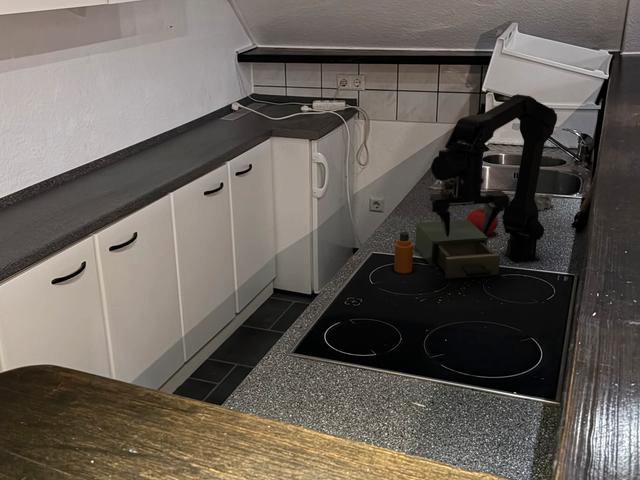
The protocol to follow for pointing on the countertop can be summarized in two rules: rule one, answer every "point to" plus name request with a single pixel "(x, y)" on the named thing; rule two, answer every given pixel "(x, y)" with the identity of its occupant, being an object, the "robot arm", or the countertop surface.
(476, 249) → the drawer
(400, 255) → the bottle
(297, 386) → the countertop surface
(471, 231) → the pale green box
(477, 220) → the tomato
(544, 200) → the egg carton
